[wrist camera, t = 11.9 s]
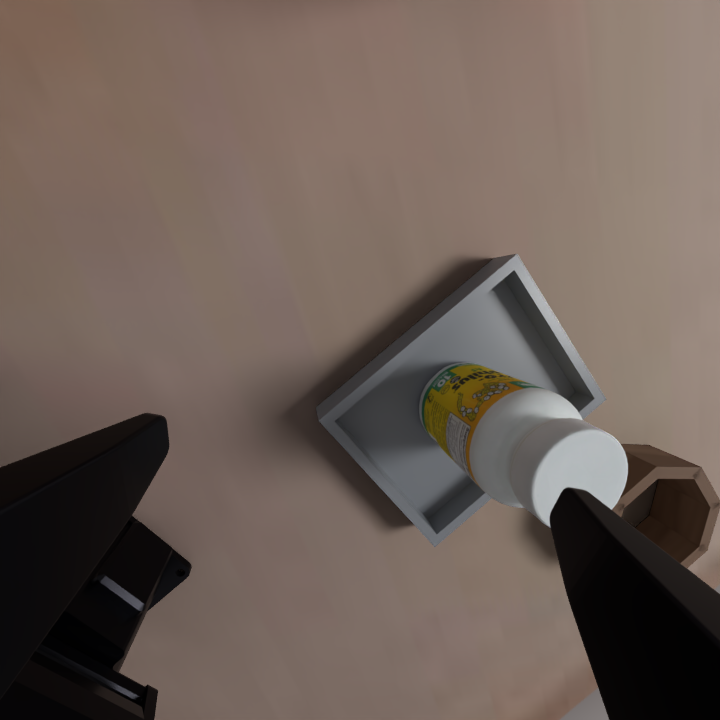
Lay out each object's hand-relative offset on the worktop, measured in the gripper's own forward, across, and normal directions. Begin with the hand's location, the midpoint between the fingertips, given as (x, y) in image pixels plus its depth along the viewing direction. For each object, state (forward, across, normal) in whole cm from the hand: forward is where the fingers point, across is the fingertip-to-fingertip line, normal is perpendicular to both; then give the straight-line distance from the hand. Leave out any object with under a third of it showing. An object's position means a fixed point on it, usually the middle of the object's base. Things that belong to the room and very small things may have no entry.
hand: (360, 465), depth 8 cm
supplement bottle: (+13, -6, +5) cm, 15 cm away
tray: (+14, -6, +6) cm, 16 cm away
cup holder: (+15, -20, +12) cm, 28 cm away
